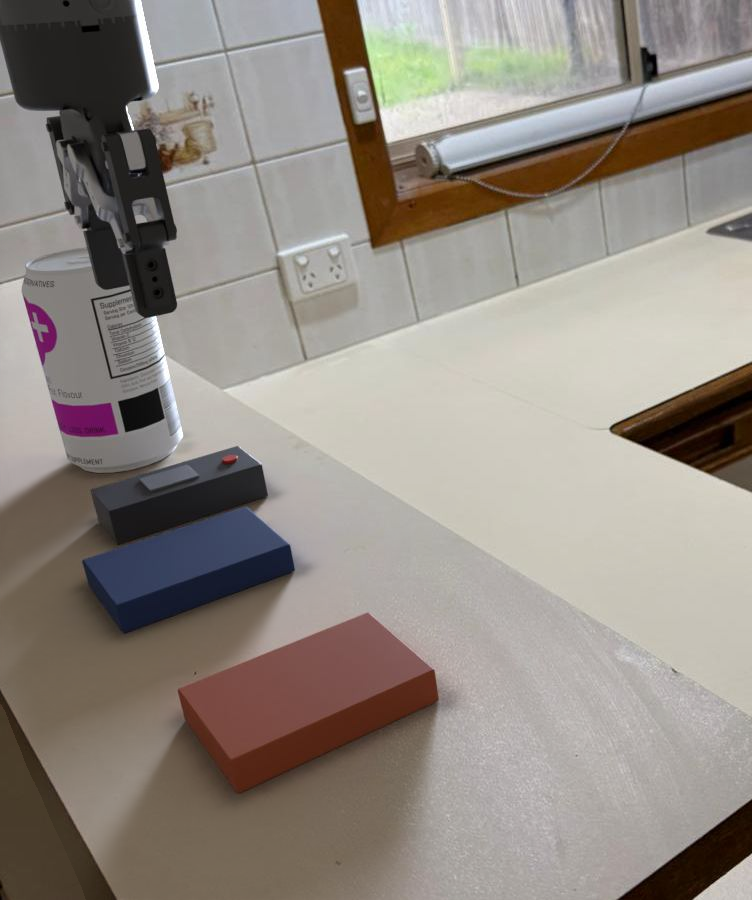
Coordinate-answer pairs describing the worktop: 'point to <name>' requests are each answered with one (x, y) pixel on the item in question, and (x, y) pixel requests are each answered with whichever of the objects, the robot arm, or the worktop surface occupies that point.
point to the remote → (178, 494)
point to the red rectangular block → (306, 699)
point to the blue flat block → (187, 568)
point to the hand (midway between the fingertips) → (136, 299)
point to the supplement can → (100, 366)
